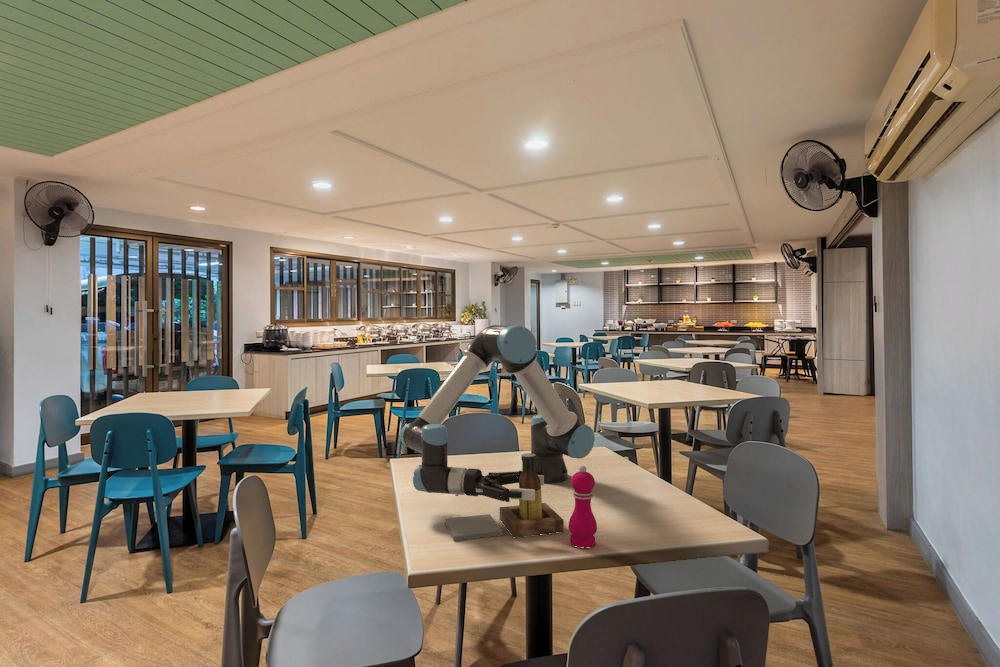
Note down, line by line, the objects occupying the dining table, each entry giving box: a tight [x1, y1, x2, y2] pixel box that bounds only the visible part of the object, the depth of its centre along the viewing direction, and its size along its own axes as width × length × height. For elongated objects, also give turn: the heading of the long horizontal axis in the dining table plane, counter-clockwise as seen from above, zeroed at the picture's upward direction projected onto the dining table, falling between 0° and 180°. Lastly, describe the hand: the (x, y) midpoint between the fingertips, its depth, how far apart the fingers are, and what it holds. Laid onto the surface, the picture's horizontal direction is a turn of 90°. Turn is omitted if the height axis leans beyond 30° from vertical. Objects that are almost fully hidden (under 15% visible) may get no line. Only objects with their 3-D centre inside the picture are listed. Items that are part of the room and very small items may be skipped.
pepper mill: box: [568, 465, 598, 548], centre depth 134 cm, size 7×7×20 cm
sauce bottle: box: [518, 452, 543, 521], centre depth 146 cm, size 6×6×20 cm
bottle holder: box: [499, 502, 565, 538], centre depth 146 cm, size 14×14×4 cm
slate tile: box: [444, 513, 503, 541], centre depth 144 cm, size 13×13×1 cm
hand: (539, 487), depth 145 cm, fingers open, 13 cm apart
